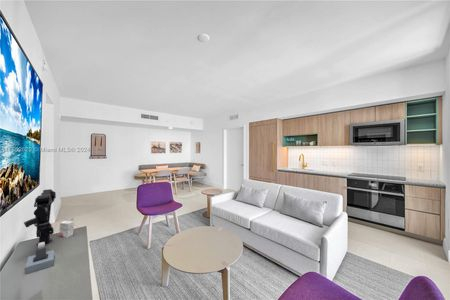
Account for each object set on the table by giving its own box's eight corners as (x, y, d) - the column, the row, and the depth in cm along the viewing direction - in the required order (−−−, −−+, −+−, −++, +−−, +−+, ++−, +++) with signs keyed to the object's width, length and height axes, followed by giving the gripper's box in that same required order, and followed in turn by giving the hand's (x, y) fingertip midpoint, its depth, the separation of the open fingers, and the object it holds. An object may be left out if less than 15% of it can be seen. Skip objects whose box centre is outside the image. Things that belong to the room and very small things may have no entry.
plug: (35, 262, 111) (36, 242, 112) (45, 259, 115) (46, 240, 115) (35, 265, 108) (36, 245, 108) (45, 262, 111) (46, 243, 111)
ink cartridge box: (58, 236, 146) (59, 219, 146) (64, 233, 151) (65, 217, 151) (67, 237, 145) (68, 219, 145) (73, 234, 150) (74, 217, 150)
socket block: (28, 262, 112) (28, 256, 112) (53, 255, 121) (54, 249, 121) (24, 274, 102) (24, 267, 102) (53, 265, 110) (53, 259, 110)
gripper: (24, 214, 124) (22, 236, 122) (26, 218, 112) (25, 243, 111) (46, 210, 133) (45, 231, 131) (50, 214, 121) (49, 237, 120)
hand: (41, 235), depth 123 cm, fingers open, 9 cm apart
